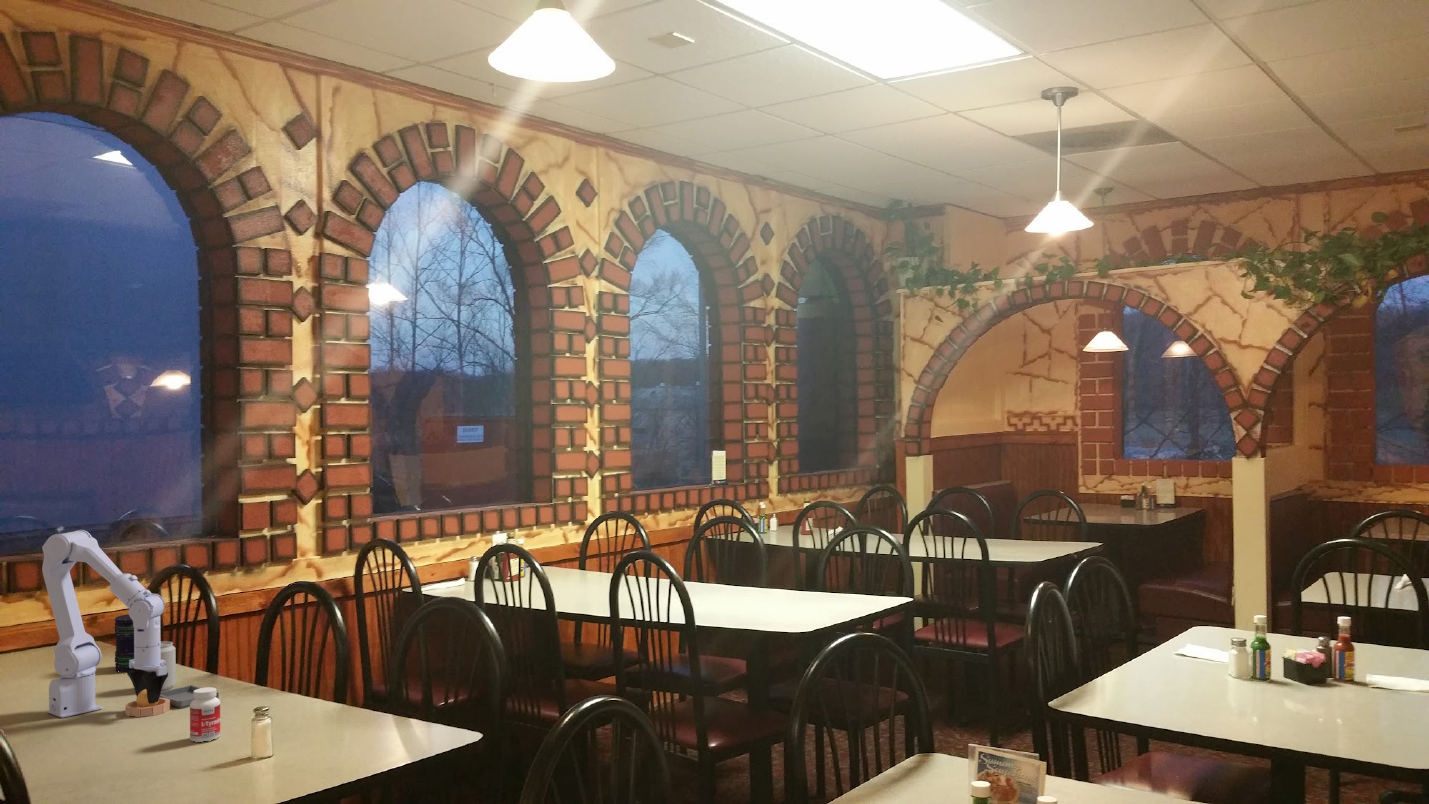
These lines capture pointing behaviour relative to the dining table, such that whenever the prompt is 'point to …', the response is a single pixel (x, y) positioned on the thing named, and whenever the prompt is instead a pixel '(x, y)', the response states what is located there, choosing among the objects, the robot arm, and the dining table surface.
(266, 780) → the dining table surface
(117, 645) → the storage jar
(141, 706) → the ball
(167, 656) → the can
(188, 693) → the tray
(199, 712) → the pill bottle
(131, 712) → the dish
